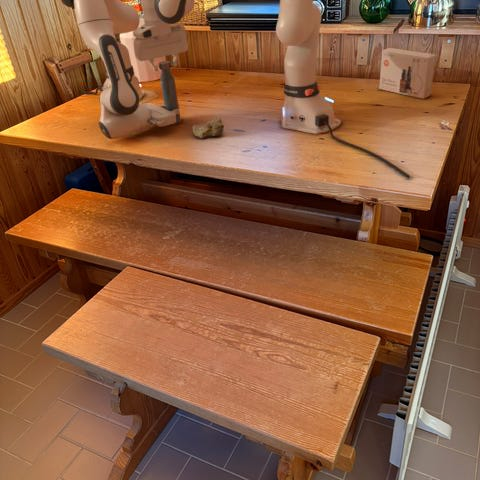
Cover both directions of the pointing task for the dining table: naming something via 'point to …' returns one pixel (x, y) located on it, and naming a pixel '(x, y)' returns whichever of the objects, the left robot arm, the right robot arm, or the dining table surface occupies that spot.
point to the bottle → (169, 93)
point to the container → (141, 68)
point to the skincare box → (407, 72)
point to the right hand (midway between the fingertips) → (165, 68)
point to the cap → (164, 65)
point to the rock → (209, 128)
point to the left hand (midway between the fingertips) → (174, 108)
